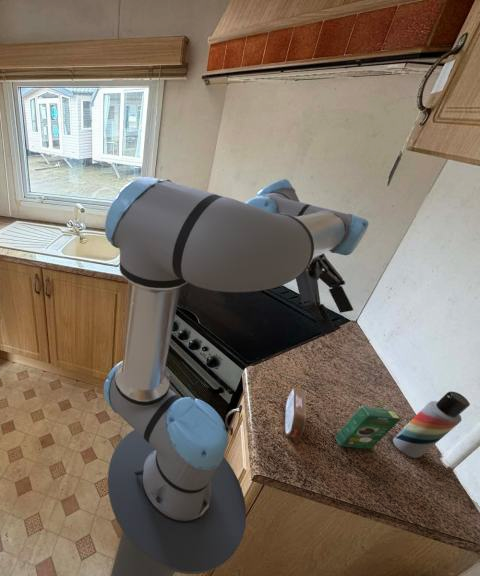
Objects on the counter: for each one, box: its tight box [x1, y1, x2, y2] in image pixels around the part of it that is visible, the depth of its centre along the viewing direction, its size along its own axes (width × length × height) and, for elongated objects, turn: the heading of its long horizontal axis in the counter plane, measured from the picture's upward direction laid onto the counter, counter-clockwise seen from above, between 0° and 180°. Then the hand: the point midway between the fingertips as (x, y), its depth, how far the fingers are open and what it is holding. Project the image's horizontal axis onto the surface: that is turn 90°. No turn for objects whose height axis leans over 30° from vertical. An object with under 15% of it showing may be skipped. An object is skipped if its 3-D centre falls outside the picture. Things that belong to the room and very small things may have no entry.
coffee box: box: [334, 405, 402, 450], centre depth 76 cm, size 8×3×13 cm, turn 86°
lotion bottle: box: [392, 391, 471, 459], centre depth 74 cm, size 6×6×20 cm
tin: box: [284, 387, 307, 442], centre depth 81 cm, size 15×3×8 cm, turn 151°
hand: (338, 321), depth 74 cm, fingers open, 13 cm apart
